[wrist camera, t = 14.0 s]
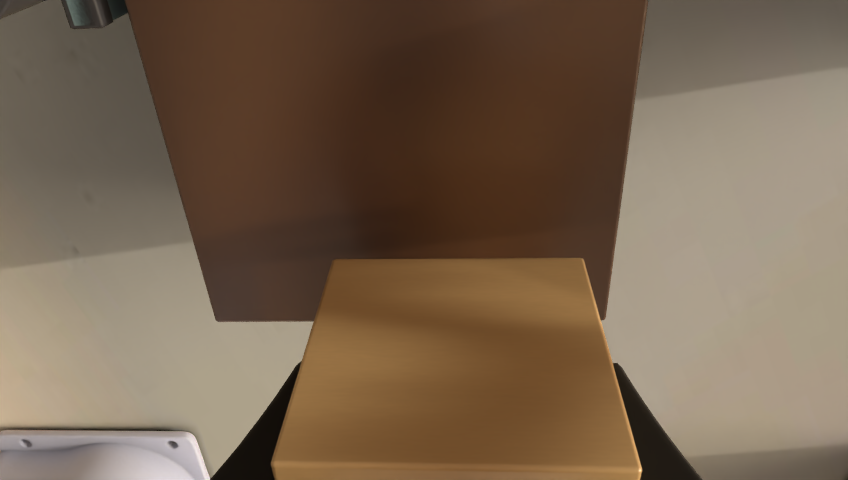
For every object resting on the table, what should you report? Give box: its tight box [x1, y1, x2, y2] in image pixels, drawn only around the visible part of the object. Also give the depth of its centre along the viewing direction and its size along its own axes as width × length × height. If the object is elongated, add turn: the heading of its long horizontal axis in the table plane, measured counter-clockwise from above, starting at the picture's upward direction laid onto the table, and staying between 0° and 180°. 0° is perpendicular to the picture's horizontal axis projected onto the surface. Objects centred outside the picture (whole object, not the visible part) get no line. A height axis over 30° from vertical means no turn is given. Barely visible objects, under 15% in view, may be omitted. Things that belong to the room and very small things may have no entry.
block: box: [271, 258, 642, 480], centre depth 12 cm, size 5×5×5 cm
